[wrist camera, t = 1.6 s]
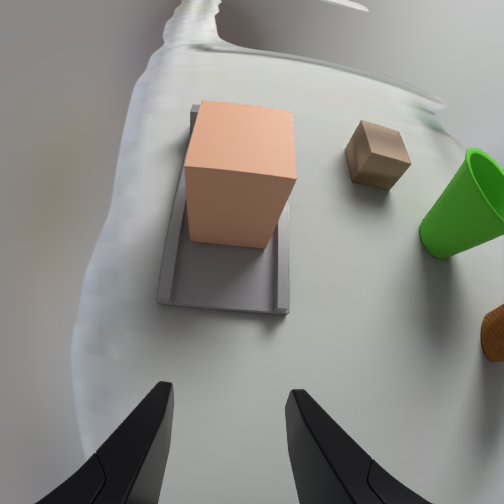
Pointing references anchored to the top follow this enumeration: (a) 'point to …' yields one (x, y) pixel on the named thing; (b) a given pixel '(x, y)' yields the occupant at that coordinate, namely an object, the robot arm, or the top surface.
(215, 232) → the terracotta block
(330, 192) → the top surface
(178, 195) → the track
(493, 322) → the disposable coffee cup
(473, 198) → the cup
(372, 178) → the walnut block
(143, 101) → the top surface
